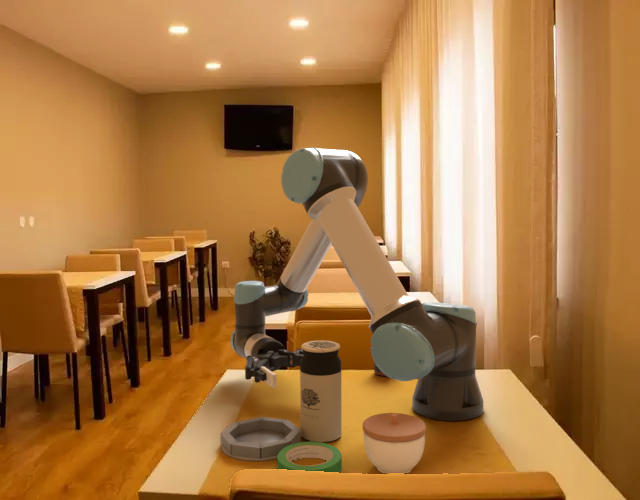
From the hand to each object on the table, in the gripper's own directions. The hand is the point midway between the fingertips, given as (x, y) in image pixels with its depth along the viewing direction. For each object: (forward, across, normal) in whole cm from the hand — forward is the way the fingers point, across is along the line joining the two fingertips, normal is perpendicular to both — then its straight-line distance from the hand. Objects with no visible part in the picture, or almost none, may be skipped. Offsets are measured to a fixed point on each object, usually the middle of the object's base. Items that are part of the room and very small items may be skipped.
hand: (305, 376), depth 126 cm
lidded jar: (+27, -4, -10) cm, 29 cm away
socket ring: (+7, +13, -10) cm, 17 cm away
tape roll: (+20, +9, -10) cm, 24 cm away
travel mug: (+8, +1, -10) cm, 13 cm away
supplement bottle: (-19, -33, -10) cm, 39 cm away
